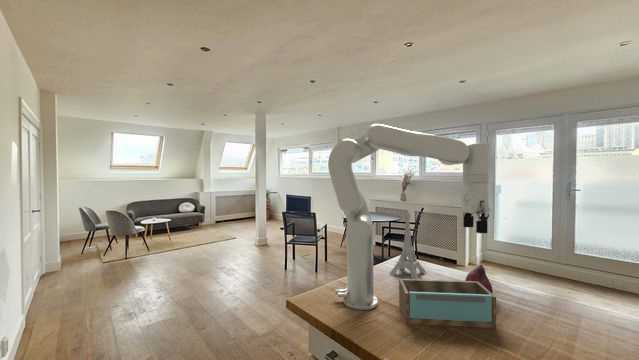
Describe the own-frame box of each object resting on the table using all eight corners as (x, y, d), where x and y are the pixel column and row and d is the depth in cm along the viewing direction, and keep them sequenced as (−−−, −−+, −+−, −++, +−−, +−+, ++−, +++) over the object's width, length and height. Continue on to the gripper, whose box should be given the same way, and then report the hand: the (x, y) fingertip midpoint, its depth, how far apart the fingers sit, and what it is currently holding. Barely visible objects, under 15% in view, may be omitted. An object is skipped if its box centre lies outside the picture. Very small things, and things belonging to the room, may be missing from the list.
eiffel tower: (426, 272, 129) (426, 209, 129) (417, 281, 119) (417, 213, 118) (399, 267, 137) (399, 207, 137) (388, 274, 127) (388, 210, 126)
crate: (405, 323, 86) (405, 293, 85) (399, 305, 97) (399, 278, 97) (496, 328, 82) (496, 297, 82) (478, 308, 94) (478, 281, 94)
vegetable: (496, 313, 98) (507, 277, 93) (465, 306, 100) (474, 271, 95) (486, 293, 107) (495, 260, 103) (458, 288, 109) (466, 255, 105)
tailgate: (410, 318, 85) (410, 293, 85) (409, 316, 86) (409, 291, 86) (492, 323, 82) (492, 296, 82) (490, 320, 83) (490, 294, 83)
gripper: (453, 179, 101) (453, 225, 101) (475, 180, 84) (474, 235, 84) (475, 179, 100) (474, 225, 101) (501, 180, 83) (500, 236, 83)
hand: (474, 229), depth 92 cm, fingers open, 9 cm apart
